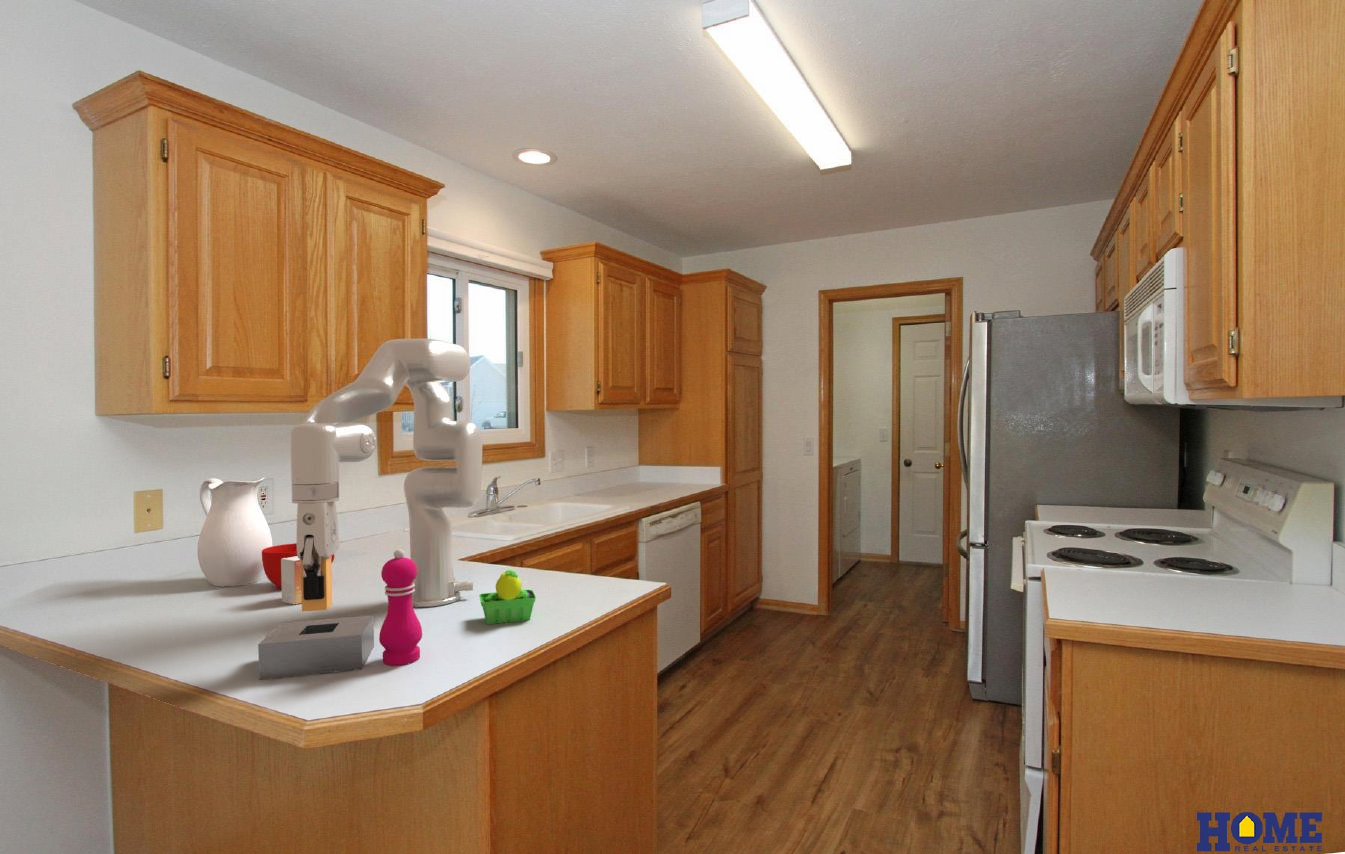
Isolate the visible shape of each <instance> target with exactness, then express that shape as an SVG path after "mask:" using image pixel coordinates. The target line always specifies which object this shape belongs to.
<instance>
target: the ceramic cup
mask: <svg viewBox="0 0 1345 854" xmlns="http://www.w3.org/2000/svg"><path fill="white" fill-rule="evenodd" d="M295 556H297V542H295V543H288V544H287V543H285V544H279V545H272V547H268V548H265V549H263V550H262V562H263V568H264V571H265V573H264V575H265V576H266V578H267V579H268V580H269V582H270V583H271V584H272V585H274V587H276V589H279V590H282V578H281V559H282V558H290V557H295ZM334 560H335V553H334V554H333V555H331V565H332V563H333V562H334Z"/></svg>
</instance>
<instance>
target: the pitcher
mask: <svg viewBox="0 0 1345 854" xmlns="http://www.w3.org/2000/svg"><path fill="white" fill-rule="evenodd" d="M265 480H266V477H262V478H261V479H258V480H254V481H245V480H244V481H243V480H242V481H241V480H228V481H224V482H223V481H222V479H219V478H215V477H214V478H213V477H212V478H211V477H210V478H207V479H205V480H204V481H203V482H202V484H201V485H200V488H199V501H200V504H201V507H202V510H203V512H204V513H205V516H206V518H205V520H204V523H203V525H202V528H201V530H200V534H199V537H198V542H197V561H198V565H199V567H200V570H201V572H202V574H203V575H204V577H205V578H206V579H207V581H208V582H209V583H210V584H211V585H212V586H213V585H214V587H217V586H231V587H238V586H245V584H246V585H249V583H250V584H254V583H256V582H258V581H260V580H261V579H262V578H263V576H264V575H265V571H264V568H263V562H262V550H263V549H265V548H268V547H272V546H273V538H272V533H271V530H270V527H269V525H268V522H267V520H266V517H265V515H264V513H263V512H262V509H261V507H260V504H259V501H258V491H259V489H260V486H261V485H262V484H263V482H264V481H265Z"/></svg>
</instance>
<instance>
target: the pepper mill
mask: <svg viewBox="0 0 1345 854" xmlns="http://www.w3.org/2000/svg"><path fill="white" fill-rule="evenodd" d="M393 556H394V558H391V559H389V560H387V561H386V562H385V563H384V565H383V566H382V569H381V579H382V581H383V582H384V584H386V585H385V587H384V590H385V591H384V595H385V596H387V611H386V616H385V618H384V620H383V622H382V625H381V627H380V629H379V631H380V632H379V636H378V638H379V640H378V641H379V643H380V645H381V646H382V647H383V648H384V650H383V652H382V663H383V664H384V665H386V666H390V667H391V666H392V667H397V666H398V667H399V665H400V666H405V664H406V665H409V664H408V663H410V664H412V662H413V663H414V661H415V662H417V661H418V660H419V659H420V658H421V648H420V646H418V644H419V643H420V641H421V640H422V638H423V628H422V625H421V622H420V620H419V618H418V616H417V614H416V611H415V609H414V606H413V605H412V593H413V592H414V591H415V589H414V586H415V584H414V583H413V580H414V579H415V578H416V576H417V566H416V564H415V562H414V561H412V560H411V559H410V557H409V558H408V557H405V551H404V550H403V549H401V548H398V549H395V550H394V552H393ZM416 660H417V661H416Z"/></svg>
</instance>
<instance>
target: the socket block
mask: <svg viewBox="0 0 1345 854" xmlns="http://www.w3.org/2000/svg"><path fill="white" fill-rule="evenodd" d="M374 620H375V619H374V615H362V616H361V615H359V616H349V617H338V618H337V617H336V618H326V619H314V620H313V619H312V620H301V621H300V620H299V621H289V622H279V623H278V624H277V625H276V626H275V627H274V628H273V629H272V630H271V631H270V632H269V633H268V634H267V635H266V636H265V637H264V638H262V640H261V641H260V642H259V643H258V645H257V648H258V649H257V650H258V678H259V679H258V680H260V681H261V680H270V679H278V678H279V677H281V678H289V677H299V676H301V677H302V676H310V675H309V674H311V675H319V674H320V675H321V674H329V672H330V673H339V672H348V671H358V670H363V669H364V667H365V665H366V663H367V661H368V659H369V658H368V657H370V655H371V653H372V652H373V650H374V648H375V630H374V628H375V627H374V625H375V623H374ZM371 651H372V652H371ZM279 679H280V678H279Z"/></svg>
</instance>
